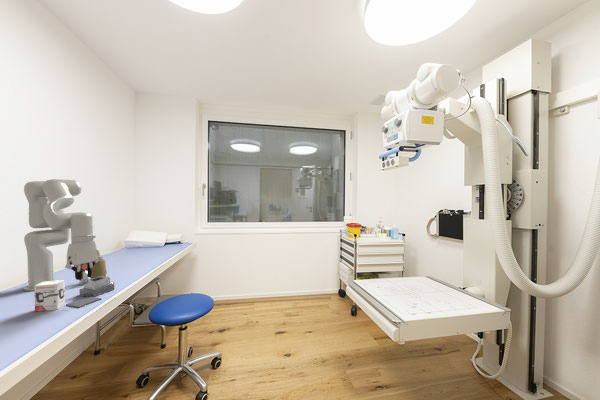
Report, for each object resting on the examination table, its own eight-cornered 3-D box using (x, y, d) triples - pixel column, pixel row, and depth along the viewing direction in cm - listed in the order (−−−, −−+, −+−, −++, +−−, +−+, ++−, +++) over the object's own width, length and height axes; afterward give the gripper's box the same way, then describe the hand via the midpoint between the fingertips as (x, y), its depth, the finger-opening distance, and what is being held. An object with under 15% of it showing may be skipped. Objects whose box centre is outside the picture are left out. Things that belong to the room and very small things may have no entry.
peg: (78, 284, 109) (77, 263, 109) (85, 282, 112) (84, 261, 112) (82, 284, 108) (81, 263, 108) (89, 282, 111) (89, 261, 111)
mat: (66, 305, 108) (65, 304, 108) (88, 297, 116) (88, 296, 116) (79, 308, 105) (79, 306, 105) (101, 299, 114) (101, 298, 114)
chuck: (79, 295, 119) (79, 281, 119) (106, 285, 131) (106, 273, 131) (93, 297, 116) (92, 283, 116) (119, 287, 128) (119, 274, 128)
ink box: (33, 312, 102) (33, 285, 101) (43, 307, 106) (42, 281, 106) (57, 309, 103) (56, 283, 103) (66, 304, 108) (65, 279, 108)
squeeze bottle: (109, 279, 142) (108, 249, 141) (92, 283, 135) (91, 252, 135) (104, 276, 146) (103, 248, 146) (87, 281, 139) (86, 251, 139)
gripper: (96, 236, 119) (97, 272, 119) (54, 242, 103) (56, 283, 104) (106, 236, 117) (108, 273, 117) (65, 243, 101) (67, 285, 101)
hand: (83, 277), depth 110 cm, fingers closed on peg, 3 cm apart
